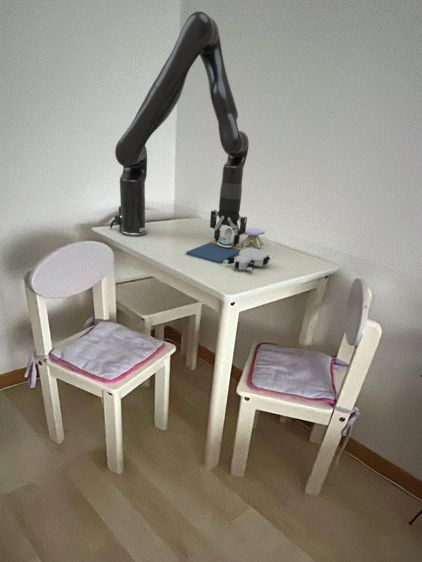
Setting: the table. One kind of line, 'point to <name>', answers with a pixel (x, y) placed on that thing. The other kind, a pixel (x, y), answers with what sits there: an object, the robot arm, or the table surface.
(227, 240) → the pacifier
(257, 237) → the toy table
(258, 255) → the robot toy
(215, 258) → the blue book
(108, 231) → the table surface
